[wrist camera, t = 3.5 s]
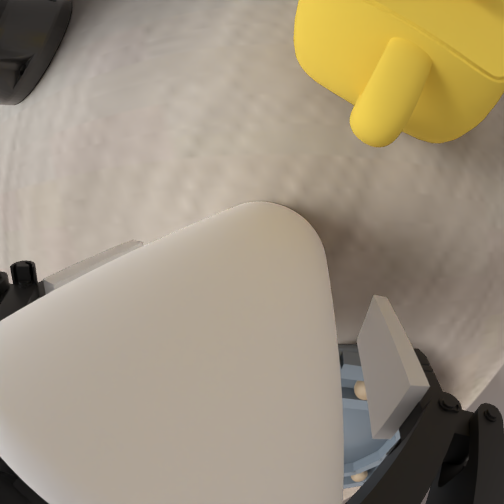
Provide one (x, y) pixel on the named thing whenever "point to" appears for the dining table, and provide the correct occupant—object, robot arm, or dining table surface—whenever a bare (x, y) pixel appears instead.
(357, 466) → the tray
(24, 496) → the robot arm
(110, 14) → the dining table surface
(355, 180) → the dining table surface
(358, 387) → the beads
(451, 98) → the teapot
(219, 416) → the cup
